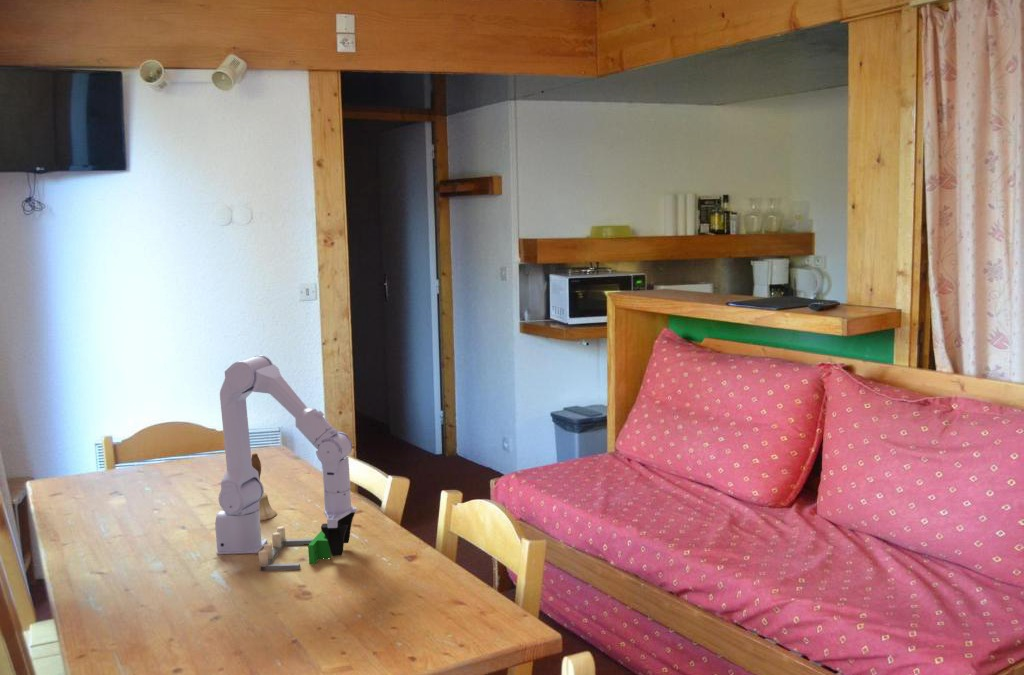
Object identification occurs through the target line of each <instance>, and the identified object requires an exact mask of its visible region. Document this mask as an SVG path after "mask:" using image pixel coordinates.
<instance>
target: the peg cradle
mask: <svg viewBox="0 0 1024 675" xmlns="http://www.w3.org/2000/svg"><path fill="white" fill-rule="evenodd" d="M271 537H272V538H271V539H272V543H269V542H268V543H265V544H264V546H263V550H262V549H261V550H260V551H259V552H258V564H259V567H260V568H259V569H260V572H266V571H267V572H268V571H269V572H270V571H271V572H273V570H275V571H298V570H297V569H299V570H301V563H300V562H297V563H296V562H295V563H291V562H290V563H273V562H274V560H275V559H276V558H277V556H278V555H279V553H280V551H281V550H282V549H283V548H284V547H285V546H305V545H304V544H310V543H311V541H312V540H313V539H314V538H293V539H288V538H287V539H286V527H285V526H282V525H281V526H277V527H276V532H273V533H271ZM277 554H278V555H277Z"/></svg>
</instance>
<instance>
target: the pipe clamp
mask: <svg viewBox="0 0 1024 675" xmlns="http://www.w3.org/2000/svg"><path fill="white" fill-rule="evenodd" d="M312 539H313V540H312V541H311V543H310V544H309V545H307V547H308V563H309V564H314V565H316V563H317V562H318V561H319V560H320V559H323V558H324V559H328V558H331V559H332V553H331V550H330V547H329V543H328V540H327V538H326V536H325V534H324V533H323V532H322V530H320V531H319V532H318V534H317V535H316V536H314V538H312ZM318 559H319V560H318ZM317 560H318V561H317ZM316 561H317V562H316Z"/></svg>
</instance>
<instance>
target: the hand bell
mask: <svg viewBox="0 0 1024 675" xmlns="http://www.w3.org/2000/svg"><path fill="white" fill-rule="evenodd" d="M251 460H252V467H253V468H255V469H256V470H257V471H258V473H259V479H260V480H261V474H262V462H261V460H260V457H259V455H258V453H256V452H255V453H251ZM259 515H260V522H261V521H266V520H269V519H272V518H274V517H276V516H277V515H278V514H277V511H276V509H274V508H273V507H272V506H271V504H270V500H269V497H268V494H267V493H265V492H264V494H263V497H262V498H261V499H260V500H259Z"/></svg>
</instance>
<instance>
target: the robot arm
mask: <svg viewBox="0 0 1024 675" xmlns="http://www.w3.org/2000/svg"><path fill="white" fill-rule="evenodd" d="M224 377H225V378H224V380H223V383H222V385H221V388H220V390H219V401H220V412H221V420H222V430H223V432H222V433H223V441H224V452H225V453H224V454H225V463H226V471H225V473H224V476H223V478H222V479H221V481H220V492H219V495H218V504H219V506H220V507H221V510H219V511H218V512H217V514H216V517H215V522H214V524H215V539H216V555H233V554H234V555H235V554H237V555H238V554H240V555H241V554H257V553H258V552H259V551H262V548H264V545H265V544H267V543H268V539H267V538H262V533H261V532H262V531H261V521H260V515H259V500H260V499H261V498H262V497H263V494H264V493H265V488H264V486H263V482H262V481H261V478H260V479H259V473H258V471H257V470H256V469H255V468H253V467H252V460H251V458H252V453H251V452H252V451H251V441H250V432H249V431H250V428H249V420H248V419H249V418H248V409H247V398H248V396H250V395H251V394H252V393H260V394H261V393H262V394H269V395H270V396H271V397H272V398H274V399H275V401H277V402H278V403H279V404H280V406H282V407H283V408H284V409H285V410H286V411H287V412H288V413H289V414H291V415H292V416H293V418H294V419H295V427H296V429H298V431H299V432H300V433H301V434H302V435H303V436H304V437H305V438H306V439H307V441H309V443H310V444H311V445H312V446H313V447H314V448H315V449H316V451H315V453H316V457H317V459H318V460H319V462H320V463H321V469H322V480H323V482H322V483H323V497H324V498H323V500H324V510H323V513H324V516H325V517H326V521H327V522H326V523H322V524H321V526H320V528H321V530H322V532H323V533H324V534H325V536H326V538H327V540H328V543H329V547H330V550H331V557H332V556H333V557H339V556H340V557H342V556H343V553H344V544H348V543H349V541H350V536H351V529H352V523H353V520H354V517H355V514H356V512H357V511H358V507H357V506H352V497H351V496H352V495H351V482H350V481H351V478H350V462H349V455H350V454H351V452H352V451H353V442H352V440H351V438H350V437H349V435H348V434H347V433H345V432H343V431H338V429H337V428H336V427H333V426H332V425H331V424H330V422H329V421H328V420H327V419H326V418H325V417H324V415H325V414H324V413H323V412H322V411H321V410H317V409H316V408H313V407H312V408H311V407H308V406H307V405H306V404H305V403H304V402H303V401H302V399H301V398H300V396H298V395H297V393H296V392H295V391H294V390H293V388H292V386H290V385H289V384H288V382H287V381H286V380H285V379H284V377H283V376H282V374H281V372H280V368H279V367H278V366H277V365H275V364H274V363H273V361H272V360H271V359H270V358H269V357H267V356H265V355H262V354H258V355H257V354H256V355H255V356H253V357H250V358H247V359H245V360H240V361H236V362H234V363H232V364H231V365H230V366H229V367H228V368H227V369H226V370H225V371H224ZM321 530H320V531H321ZM258 554H259V553H258Z"/></svg>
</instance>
